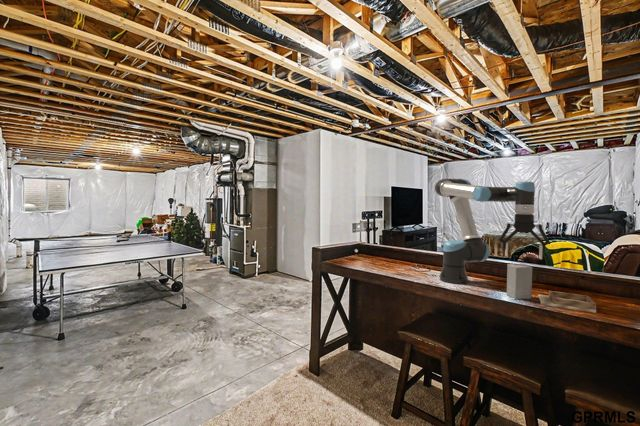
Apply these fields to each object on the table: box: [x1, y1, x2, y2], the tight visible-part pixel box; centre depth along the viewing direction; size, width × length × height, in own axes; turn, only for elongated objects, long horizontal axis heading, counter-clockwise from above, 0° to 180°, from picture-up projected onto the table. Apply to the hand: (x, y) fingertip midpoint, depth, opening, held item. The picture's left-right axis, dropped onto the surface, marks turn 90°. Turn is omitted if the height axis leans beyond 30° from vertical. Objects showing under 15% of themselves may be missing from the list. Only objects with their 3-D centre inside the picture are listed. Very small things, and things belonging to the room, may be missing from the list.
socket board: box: [537, 290, 597, 314], centre depth 128 cm, size 18×13×4 cm
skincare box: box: [506, 263, 534, 300], centre depth 137 cm, size 8×7×16 cm
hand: (523, 257), depth 138 cm, fingers open, 13 cm apart
